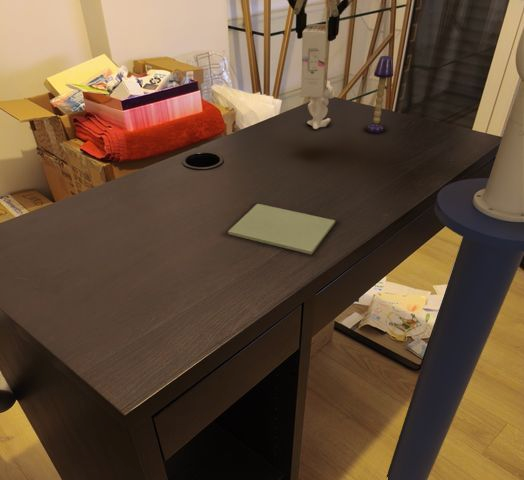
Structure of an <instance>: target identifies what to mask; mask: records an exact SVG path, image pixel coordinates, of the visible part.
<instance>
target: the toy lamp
mask: <svg viewBox="0 0 524 480" xmlns="http://www.w3.org/2000/svg"><path fill="white" fill-rule="evenodd" d="M373 76H374V77H376V78H378V85H377V91H376V98H375V105H374V112H373V119H372V122H371V123H369V124H368V125H367V128H366V132H368V133H371V134H379V133H383V132H384V126H383V124H381V123H380V122H381V115H382V109H383V103H384V95H385V89H386V82H387V79H389V78H392V77H394V60H393V57H392V56H390V55H381V56H380V57H379V58H378V60H377V64H376V67H375V69H374V72H373Z"/></svg>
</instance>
